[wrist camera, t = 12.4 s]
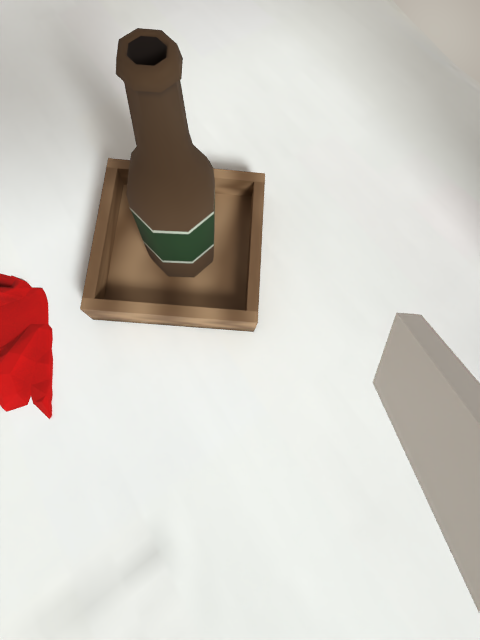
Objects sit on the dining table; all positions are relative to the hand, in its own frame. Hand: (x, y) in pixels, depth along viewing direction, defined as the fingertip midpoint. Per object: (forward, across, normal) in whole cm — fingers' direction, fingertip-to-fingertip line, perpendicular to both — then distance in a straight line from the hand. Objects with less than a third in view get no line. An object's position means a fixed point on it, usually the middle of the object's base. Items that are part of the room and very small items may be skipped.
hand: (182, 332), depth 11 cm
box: (+32, -5, -9) cm, 33 cm away
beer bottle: (+31, -5, -8) cm, 32 cm away
